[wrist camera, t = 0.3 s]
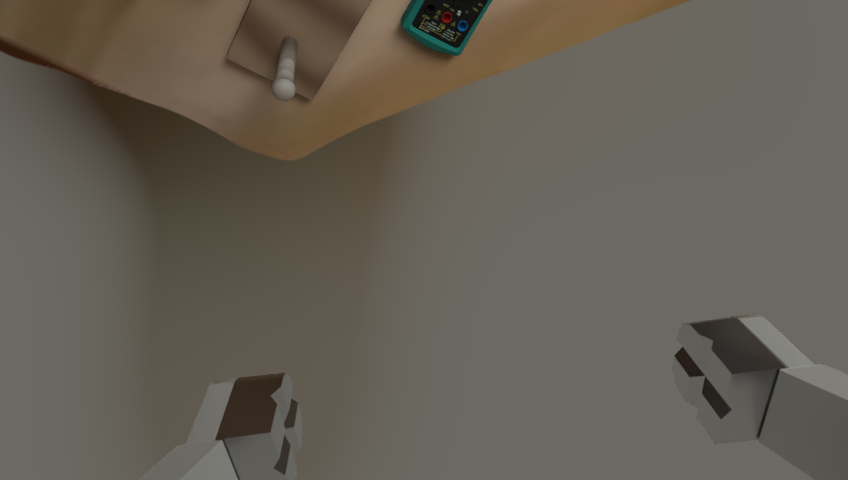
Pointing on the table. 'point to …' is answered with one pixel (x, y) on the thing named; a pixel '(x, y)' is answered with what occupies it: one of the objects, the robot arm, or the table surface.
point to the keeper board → (303, 26)
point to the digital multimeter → (443, 22)
